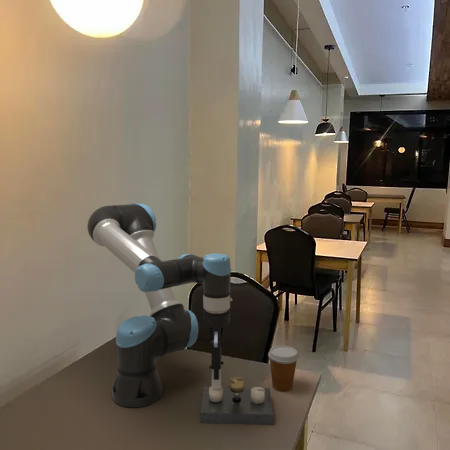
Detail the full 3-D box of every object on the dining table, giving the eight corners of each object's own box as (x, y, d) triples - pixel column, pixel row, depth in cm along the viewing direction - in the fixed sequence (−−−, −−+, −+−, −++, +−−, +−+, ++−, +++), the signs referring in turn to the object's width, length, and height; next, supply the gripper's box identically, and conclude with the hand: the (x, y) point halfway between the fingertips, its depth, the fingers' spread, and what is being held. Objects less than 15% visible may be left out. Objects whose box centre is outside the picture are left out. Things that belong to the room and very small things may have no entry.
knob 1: (208, 411, 127) (208, 391, 126) (209, 404, 131) (209, 384, 130) (222, 412, 127) (222, 392, 126) (223, 404, 131) (223, 385, 130)
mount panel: (200, 422, 122) (200, 412, 122) (204, 395, 136) (204, 386, 136) (272, 424, 122) (273, 414, 121) (269, 397, 136) (269, 388, 135)
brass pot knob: (229, 402, 127) (229, 382, 126) (229, 395, 131) (230, 376, 130) (243, 403, 127) (244, 383, 126) (243, 395, 131) (243, 376, 130)
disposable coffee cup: (296, 396, 137) (298, 359, 135) (265, 392, 139) (266, 356, 137) (297, 381, 146) (299, 346, 144) (269, 377, 148) (269, 343, 146)
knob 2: (250, 413, 127) (250, 393, 126) (250, 405, 131) (250, 386, 130) (264, 413, 127) (265, 393, 126) (263, 405, 131) (264, 386, 130)
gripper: (229, 317, 118) (228, 400, 122) (230, 302, 131) (229, 377, 134) (201, 317, 118) (201, 399, 122) (205, 301, 131) (205, 376, 135)
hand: (216, 387), depth 128 cm, fingers closed
